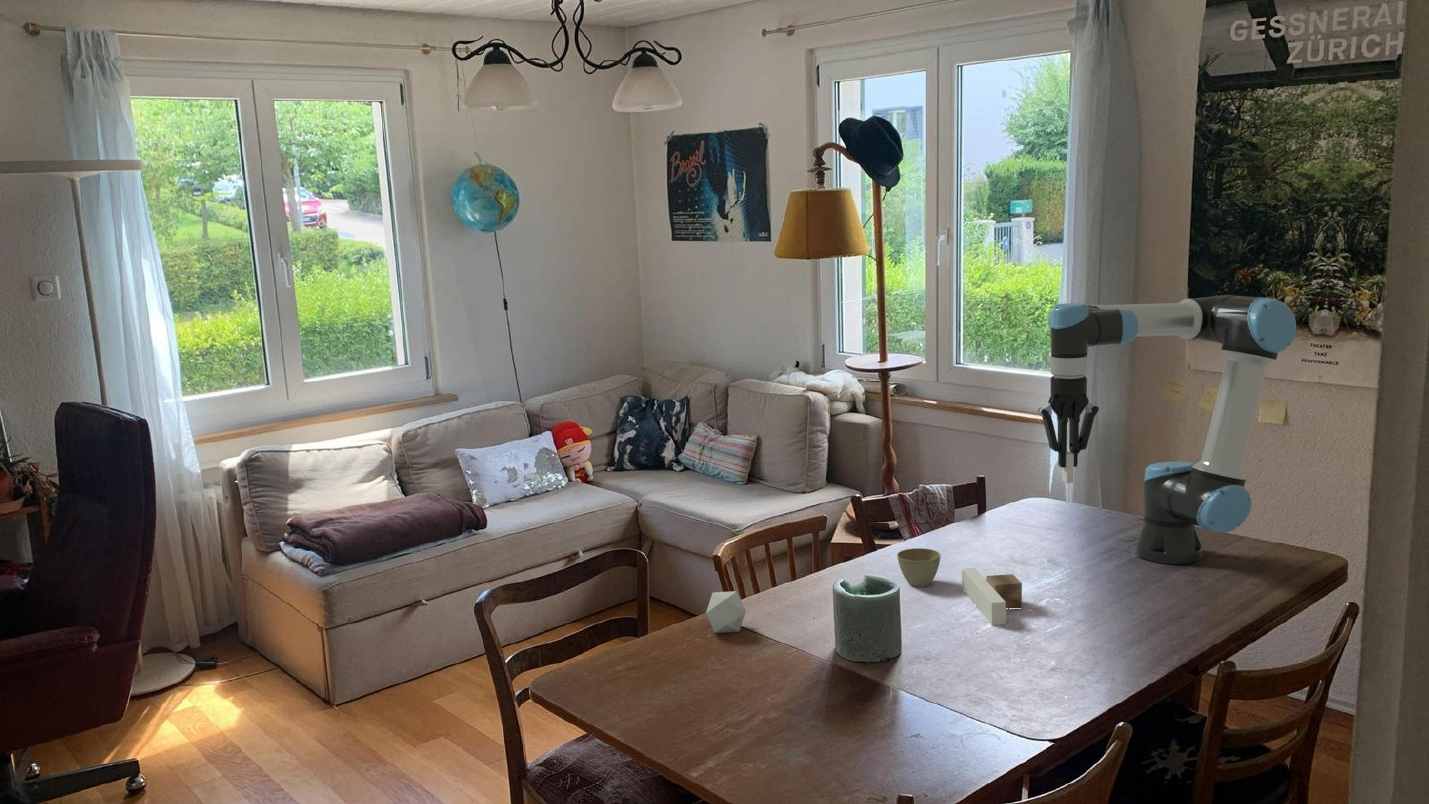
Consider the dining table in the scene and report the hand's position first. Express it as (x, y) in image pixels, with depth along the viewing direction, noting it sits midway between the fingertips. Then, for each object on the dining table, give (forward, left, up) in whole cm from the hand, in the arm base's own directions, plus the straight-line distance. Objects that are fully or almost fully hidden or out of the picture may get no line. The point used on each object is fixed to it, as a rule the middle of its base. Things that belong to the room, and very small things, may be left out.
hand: (1067, 481), depth 242 cm
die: (+77, +6, -27) cm, 82 cm away
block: (+15, +3, -27) cm, 31 cm away
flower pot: (+30, -14, -27) cm, 42 cm away
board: (+20, +3, -26) cm, 33 cm away
